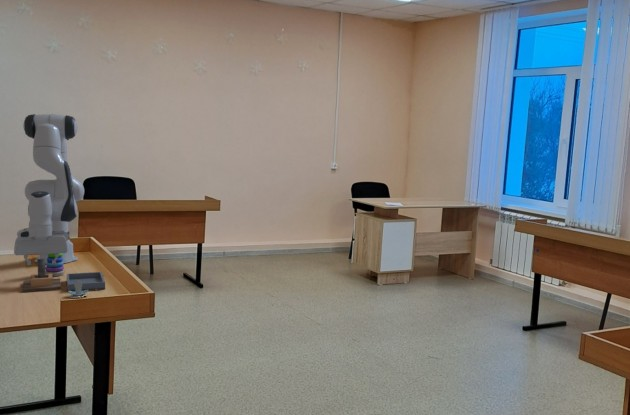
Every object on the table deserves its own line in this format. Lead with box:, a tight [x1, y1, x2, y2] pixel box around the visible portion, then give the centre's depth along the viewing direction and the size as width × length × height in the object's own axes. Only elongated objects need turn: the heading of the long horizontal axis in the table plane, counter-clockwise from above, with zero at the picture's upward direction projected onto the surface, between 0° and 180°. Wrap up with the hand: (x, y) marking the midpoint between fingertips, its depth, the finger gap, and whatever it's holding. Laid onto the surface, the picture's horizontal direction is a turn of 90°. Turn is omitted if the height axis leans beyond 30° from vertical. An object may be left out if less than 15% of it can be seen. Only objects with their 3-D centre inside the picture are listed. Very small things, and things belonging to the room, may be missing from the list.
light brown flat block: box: [30, 273, 54, 287], centre depth 254 cm, size 12×8×3 cm, turn 23°
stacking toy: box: [45, 253, 66, 277], centre depth 270 cm, size 8×8×19 cm
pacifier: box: [67, 280, 89, 299], centre depth 240 cm, size 7×6×6 cm
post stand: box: [21, 259, 62, 293], centre depth 251 cm, size 14×14×11 cm
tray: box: [66, 271, 106, 292], centre depth 257 cm, size 18×14×3 cm
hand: (41, 264), depth 256 cm, fingers open, 8 cm apart
